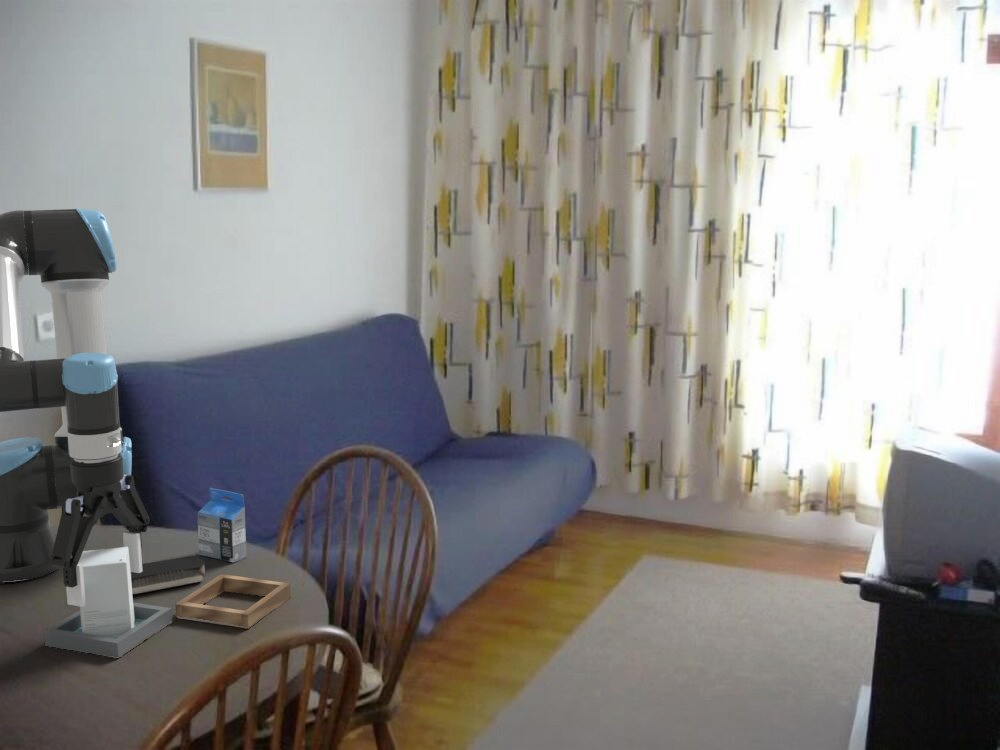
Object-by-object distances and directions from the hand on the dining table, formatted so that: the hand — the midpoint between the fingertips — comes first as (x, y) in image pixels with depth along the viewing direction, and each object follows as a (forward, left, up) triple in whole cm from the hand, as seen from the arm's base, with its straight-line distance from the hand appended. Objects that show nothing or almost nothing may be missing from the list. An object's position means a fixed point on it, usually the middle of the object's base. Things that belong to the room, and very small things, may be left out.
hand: (106, 587), depth 168 cm
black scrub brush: (-5, +19, -8) cm, 22 cm away
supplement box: (0, 0, -7) cm, 7 cm away
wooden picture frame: (+13, +15, -8) cm, 21 cm away
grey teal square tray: (0, 0, -8) cm, 8 cm away
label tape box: (-2, +35, -8) cm, 36 cm away
